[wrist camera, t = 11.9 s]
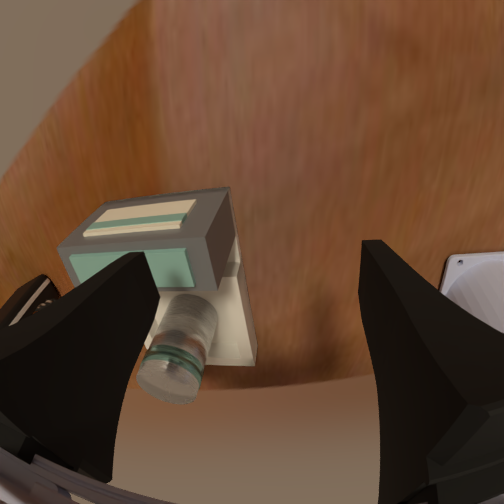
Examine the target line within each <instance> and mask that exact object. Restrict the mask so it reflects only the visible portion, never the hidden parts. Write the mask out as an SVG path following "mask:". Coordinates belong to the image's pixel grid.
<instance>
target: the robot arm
mask: <svg viewBox="0 0 504 504" xmlns="http://www.w3.org/2000/svg"><path fill="white" fill-rule="evenodd" d="M459 260H461V261H460V262H459V263H458V261H459ZM358 295H359V303H360V310H361V318H362V323H363V327H364V331H365V335H366V339H367V343H368V347H369V351H370V356H371V360H372V365H373V369H374V374H375V379H376V385H377V393H378V405H379V420H380V482H379V498H378V504H504V252H489V253H473V254H457V255H451V256H450V257H449V258H448V260H447V263H446V267H445V271H444V275H443V279H442V283H441V287H440V291H438V290H437V289H436V288H435V287H434V286H432V285H431V284H430V283H429V282H427V281H426V280H425V279H424V278H423V277H422V276H420V275H419V274H418V273H417V272H416V271H415V270H414V269H413V268H411V267H410V266H409V265H408V264H407V263H406V262H405V261H404V260H403V259H402V258H401V257H400V256H398V255H397V254H396V253H395V252H394V251H393V250H392V249H391V248H390V247H389V246H388V245H387V244H385V243H384V242H383V241H382V240H362V248H361V264H360V277H359V288H358ZM159 301H160V294H159V292H158V289H157V286H156V284H155V281H154V278H153V276H152V273H151V270H150V267H149V264H148V262H147V259H146V256H145V253H144V251H141V252H129V253H127V254H125V255H123V256H121V257H120V258H118V259H116V260H115V261H113V262H112V263H110V264H109V265H107V266H106V267H104V268H103V269H101V270H100V271H99V272H97V273H96V274H94V275H93V276H91V277H90V278H89V279H87V280H86V281H84V282H83V283H82V284H80V285H79V286H77V287H76V288H74V289H73V290H71V291H70V292H68V293H67V294H65V295H64V296H62V297H61V298H59V299H58V300H56V301H55V302H53V303H52V304H50V305H48V306H47V307H45V308H43V309H41V310H40V311H38V312H36V313H34V314H33V315H31V316H28V317H26V318H24V319H22V320H21V321H19V322H17V323H15V324H13V325H10V326H8V327H6V328H3V329H1V330H0V504H79V503H77V502H75V501H73V500H72V499H71V495H70V494H69V493H72V494H74V495H76V496H78V497H81V498H83V499H85V500H88V501H90V502H92V503H95V504H176V503H171V502H167V501H163V500H158V499H155V498H151V497H147V496H143V495H139V494H136V493H133V492H129V491H126V490H123V489H119V488H116V487H114V486H110V485H108V484H106V483H108V482H110V481H111V480H112V470H113V456H114V446H115V439H116V433H117V426H118V421H119V416H120V411H121V407H122V402H123V399H124V395H125V392H126V388H127V385H128V381H129V378H130V376H131V373H132V370H133V368H134V366H135V363H136V361H137V359H138V356H139V354H140V352H141V349H142V347H143V345H144V343H145V340H146V338H147V336H148V333H149V331H150V329H151V327H152V324H153V322H154V319H155V315H156V312H157V309H158V305H159Z"/></svg>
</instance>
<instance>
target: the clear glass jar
mask: <svg viewBox="0 0 504 504" xmlns="http://www.w3.org/2000/svg"><path fill="white" fill-rule="evenodd" d="M217 321H218V314H217V311H216V310H215V308H214V307H213V305H212V304H211V303H209V302H208V301H207V300H205V299H203V298H201V297H199V296H196V295H192V294H181V295H177V296H175V297H174V298H172V299H171V301H170V302H169V304H168V306H167V309H166V311H165V313H164V315H163V317H162V320H161V322H160V324H159V326H158V328H157V331H156V333H155V335H154V337H153V339H152V342H151V344H150V346H149V348H148V350H147V351H146V353H145V356H144V358H143V360H142V363H141V365H140V369H139V372H138V374H137V377H136V378H137V382H138V384H139V385H140V387H141V388H142V389H143V390H145V391H146V392H147V393H149V394H150V395H152V396H154V397H155V398H157V399H160V400H162V401H165V402H169V403H173V404H188V403H191V402H193V401H194V400H195V398H196V396H197V392H198V390H199V388H200V384H201V381H202V377H203V374H204V367H205V364H206V360H207V357H208V353H209V349H210V346H211V342H212V339H213V335H214V332H215V328H216V325H217Z"/></svg>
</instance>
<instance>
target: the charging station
mask: <svg viewBox="0 0 504 504" xmlns="http://www.w3.org/2000/svg"><path fill="white" fill-rule="evenodd" d="M57 250H58V253H59V255H60V257H61V259H62V261H63V264H64V266H65V268H66V270H67V272H68V274H69V276H70V278H71V281H72V283H73V285H74V287H75V288H76V287H77V286H79V285H80V284H82V283H83V282H84V281H86V280H87V279H89V278H90V277H91V276H93V275H94V274H96V273H97V272H99V271H100V270H101V269H103V268H104V267H106V266H107V265H109V264H110V263H112V262H113V261H115V260H116V259H118V258H120V257H121V256H123V255H125V254H127V253H129V252H141V251H144V253H145V256H146V259H147V262H148V264H149V267H150V270H151V273H152V276H153V278H154V281H155V284H156V286H157V289H158V292H159V294H160V301H159V305H158V309H157V312H156V315H155V319H154V322H153V324H152V327H151V329H150V331H149V333H148V336H147V338H146V340H145V343H144V344H145V346H146V348H147V350H148V348H149V346H150V344H151V342H152V339H153V337H154V335H155V333H156V331H157V328H158V326H159V324H160V322H161V320H162V317H163V315H164V313H165V311H166V309H167V306H168V304H169V302H170V301H171V299H172V298H174V297H175V296H177V295H181V294H192V295H196V296H199V297H201V298H203V299H205V300H207V301H208V302H209V303H211V304H212V305H213V307H214V308H215V310H216V311H217V314H218V321H217V325H216V328H215V332H214V335H213V339H212V342H211V346H210V349H209V353H208V357H207V360H206V364H205V365H226V366H255V361H256V354H257V347H258V345H257V339H256V334H255V328H254V323H253V317H252V312H251V306H250V301H249V295H248V290H247V284H246V278H245V273H244V267H243V261H242V256H241V250H240V244H239V238H238V233H237V227H236V221H235V215H234V210H233V204H232V198H231V192H230V187H222V188H212V189H202V190H193V191H184V192H176V193H167V194H159V195H152V196H144V197H137V198H130V199H123V200H116V201H109V202H105V203H104V204H103V205H101V206H100V207H99V208H98V209H97V210H96V211H95V212H94V213H93V214H91V215H90V216H89V217H88V218H87V219H86V220H85V221H84V222H83V223H82V224H81V225H79V226H78V227H77V228H76V229H75V230H74V231H73V232H72V233H71V234H70V235H69V236H68V237H67V238H66V239H65V240H64V241H63V242H62V243H61V244H60V245H59V246H58V247H57Z"/></svg>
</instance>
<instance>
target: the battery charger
mask: <svg viewBox="0 0 504 504" xmlns="http://www.w3.org/2000/svg"><path fill="white" fill-rule="evenodd" d="M56 300H58V294H57V292H56V290H55V288H54V287H53V285H52V284H51V283H50V280H49V279H48V278H46V276H45V275H44V274H41V275H39V276H38V277H36V278H34V279H33V280H31V281H29V282H28V283H26V284H24V285H23V286H21V287H20V288H18V289H17V290H16V291H15V292H14V294H13V295H12V296H11V297H10V298H9V299H8V301H7V302H6V303H5V304H4V305H3V306H2V308H1V309H0V330H1V329H3V328H6V327H8V326H10V325H13V324H15V323H17V322H19V321H21V320H22V319H24V318H26V317H28V316H31V315H32V314H33V312H34V311H38V310H41V309H43V308H45V307H47V306H48V305H50V304H52V303H53V302H55V301H56Z"/></svg>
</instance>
